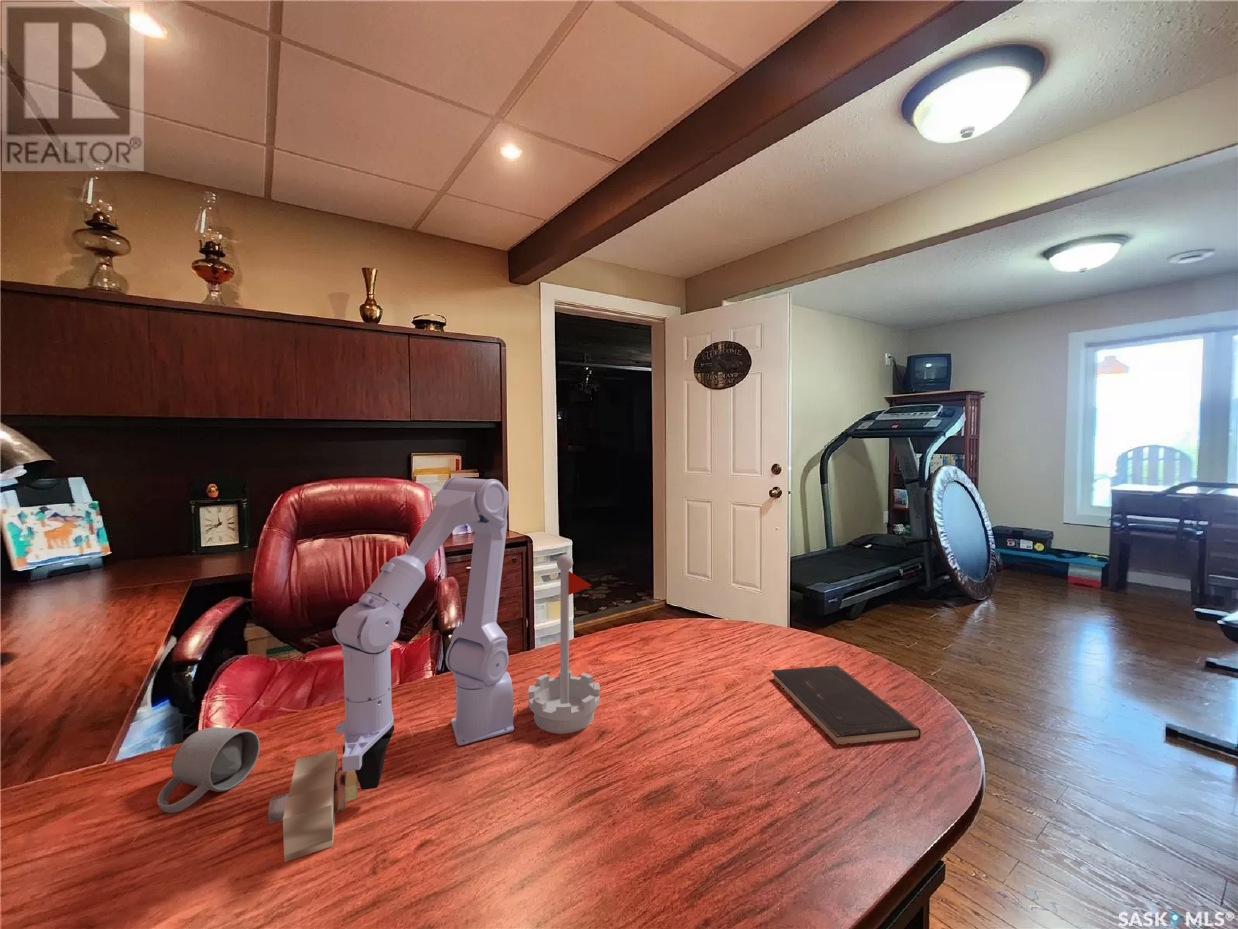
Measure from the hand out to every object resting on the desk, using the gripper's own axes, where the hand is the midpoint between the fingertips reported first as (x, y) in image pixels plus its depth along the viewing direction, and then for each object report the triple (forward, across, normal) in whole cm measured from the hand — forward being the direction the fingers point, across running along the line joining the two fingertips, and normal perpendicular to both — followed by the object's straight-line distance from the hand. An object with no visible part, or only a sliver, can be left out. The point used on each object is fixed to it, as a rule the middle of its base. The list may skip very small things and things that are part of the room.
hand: (370, 786), depth 68 cm
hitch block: (+2, +2, -6) cm, 7 cm away
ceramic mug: (+3, -7, -24) cm, 25 cm away
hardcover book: (+3, -11, +81) cm, 81 cm away
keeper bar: (+2, -3, -3) cm, 5 cm away
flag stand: (+3, -16, +28) cm, 33 cm away
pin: (+2, +2, -7) cm, 7 cm away
